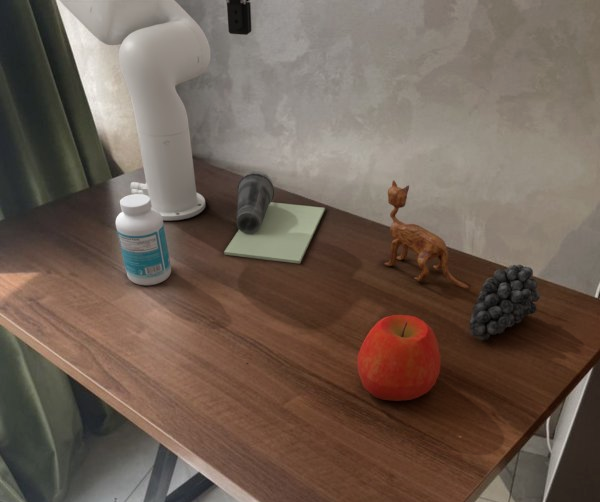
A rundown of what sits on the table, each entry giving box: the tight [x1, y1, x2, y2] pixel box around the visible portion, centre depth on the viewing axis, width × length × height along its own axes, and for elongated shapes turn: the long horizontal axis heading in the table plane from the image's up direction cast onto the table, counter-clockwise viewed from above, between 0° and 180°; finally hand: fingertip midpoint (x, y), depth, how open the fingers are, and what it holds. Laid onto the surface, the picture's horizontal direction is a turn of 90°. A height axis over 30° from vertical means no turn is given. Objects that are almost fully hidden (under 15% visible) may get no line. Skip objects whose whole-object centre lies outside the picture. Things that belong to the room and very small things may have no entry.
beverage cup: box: [236, 170, 275, 234], centre depth 118 cm, size 7×7×20 cm
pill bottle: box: [115, 194, 172, 286], centre depth 98 cm, size 8×7×14 cm
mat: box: [223, 201, 326, 265], centre depth 115 cm, size 14×22×1 cm, turn 167°
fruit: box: [469, 264, 541, 341], centre depth 90 cm, size 9×8×15 cm
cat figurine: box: [383, 179, 470, 290], centre depth 99 cm, size 18×7×14 cm, turn 46°
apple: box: [357, 314, 442, 402], centre depth 78 cm, size 11×11×11 cm
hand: (240, 32), depth 93 cm, fingers closed
